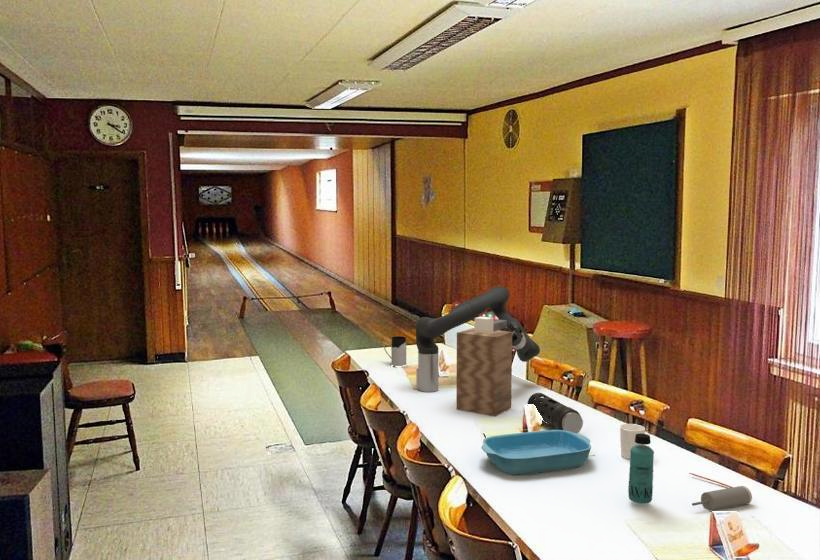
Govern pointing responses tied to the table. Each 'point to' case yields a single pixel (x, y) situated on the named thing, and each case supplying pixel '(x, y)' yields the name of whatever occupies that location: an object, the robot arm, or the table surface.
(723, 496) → the motor
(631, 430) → the white cup
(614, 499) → the table surface
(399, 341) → the glass holder
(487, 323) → the plug
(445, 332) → the robot arm
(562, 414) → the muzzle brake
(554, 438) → the casserole dish
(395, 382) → the table surface
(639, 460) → the beverage bottle
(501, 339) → the stand
